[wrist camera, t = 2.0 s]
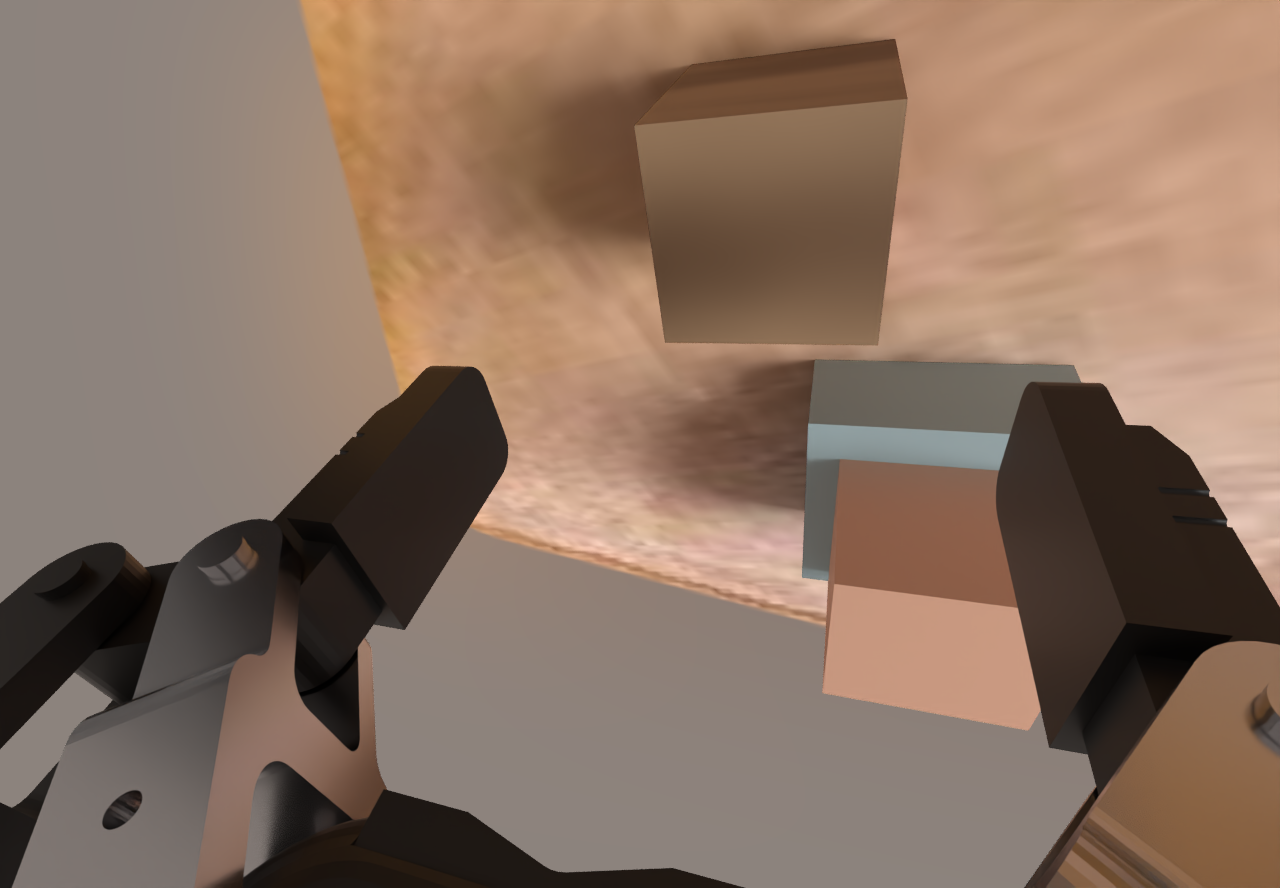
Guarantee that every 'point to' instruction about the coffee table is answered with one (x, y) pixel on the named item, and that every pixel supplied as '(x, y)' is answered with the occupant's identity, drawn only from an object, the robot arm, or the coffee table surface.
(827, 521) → the tower base
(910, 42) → the coffee table surface
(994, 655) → the tower top
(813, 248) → the walnut block
